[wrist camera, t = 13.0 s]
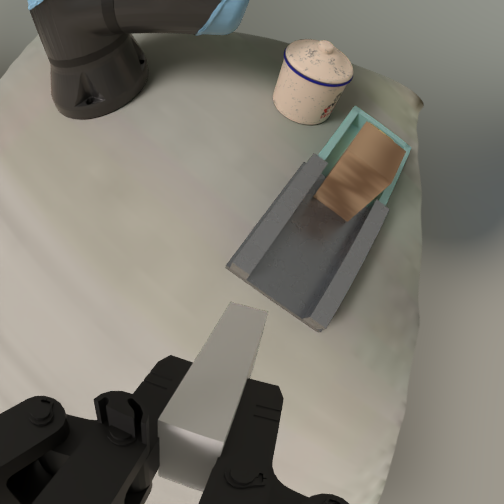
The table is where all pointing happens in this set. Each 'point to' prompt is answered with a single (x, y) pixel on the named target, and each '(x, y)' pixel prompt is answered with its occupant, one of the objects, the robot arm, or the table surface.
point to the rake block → (361, 172)
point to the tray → (346, 136)
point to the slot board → (307, 249)
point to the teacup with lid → (311, 80)
